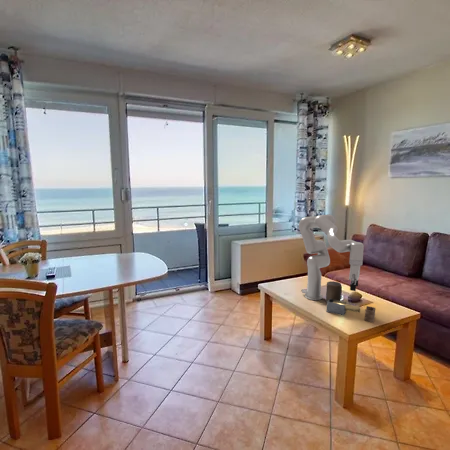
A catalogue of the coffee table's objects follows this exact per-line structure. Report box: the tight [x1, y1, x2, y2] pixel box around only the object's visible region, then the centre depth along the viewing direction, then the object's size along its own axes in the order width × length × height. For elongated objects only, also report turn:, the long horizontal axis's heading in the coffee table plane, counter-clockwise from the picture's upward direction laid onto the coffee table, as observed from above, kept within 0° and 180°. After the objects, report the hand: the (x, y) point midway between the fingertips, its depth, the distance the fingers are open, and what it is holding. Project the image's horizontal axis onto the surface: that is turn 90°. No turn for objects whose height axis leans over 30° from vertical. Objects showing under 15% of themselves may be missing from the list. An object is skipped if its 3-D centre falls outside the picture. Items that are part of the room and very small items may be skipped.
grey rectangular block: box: [325, 299, 348, 317], centre depth 197 cm, size 11×6×7 cm, turn 58°
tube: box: [333, 302, 361, 313], centre depth 194 cm, size 16×4×4 cm, turn 58°
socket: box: [364, 305, 376, 323], centre depth 187 cm, size 5×7×7 cm
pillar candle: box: [325, 281, 342, 303], centre depth 213 cm, size 10×10×15 cm
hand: (353, 288), depth 190 cm, fingers open, 9 cm apart
